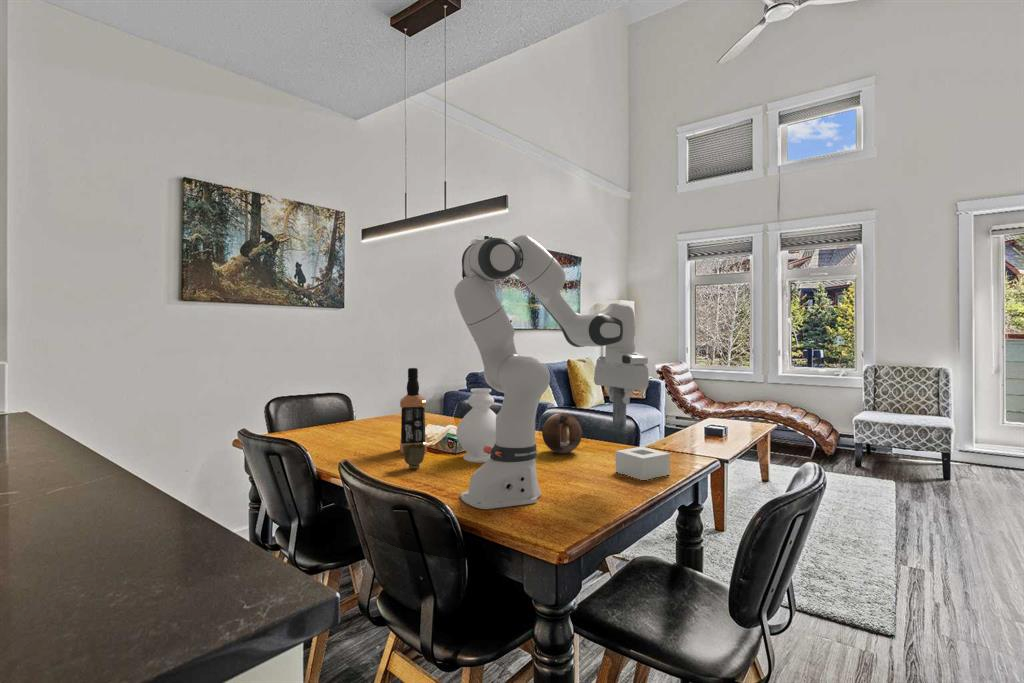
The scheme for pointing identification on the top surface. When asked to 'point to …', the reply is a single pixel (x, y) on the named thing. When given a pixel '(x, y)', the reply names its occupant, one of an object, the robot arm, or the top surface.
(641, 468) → the block
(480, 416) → the decorative vase
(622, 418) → the steel pin
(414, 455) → the cup
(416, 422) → the whiskey bottle
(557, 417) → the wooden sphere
